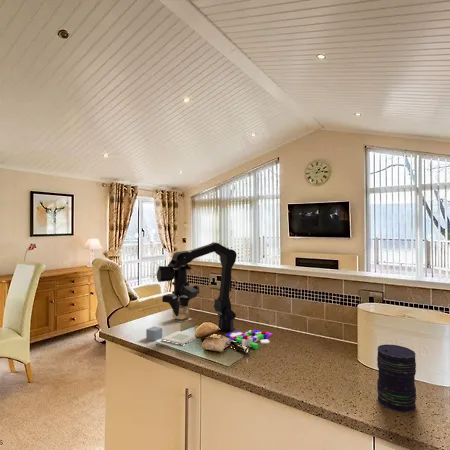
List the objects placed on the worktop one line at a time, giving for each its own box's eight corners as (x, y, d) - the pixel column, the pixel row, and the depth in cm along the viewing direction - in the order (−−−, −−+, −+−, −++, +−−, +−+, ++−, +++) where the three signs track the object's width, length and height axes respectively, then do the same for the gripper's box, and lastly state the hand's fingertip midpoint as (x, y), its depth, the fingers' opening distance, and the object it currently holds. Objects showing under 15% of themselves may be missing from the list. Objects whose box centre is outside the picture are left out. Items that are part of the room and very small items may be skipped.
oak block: (179, 315, 147) (179, 305, 147) (188, 316, 145) (188, 306, 145) (172, 317, 143) (172, 307, 143) (181, 319, 141) (181, 309, 141)
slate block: (162, 337, 146) (162, 328, 146) (154, 341, 142) (154, 331, 142) (154, 336, 148) (154, 326, 148) (146, 339, 144) (146, 329, 144)
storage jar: (405, 394, 96) (405, 344, 96) (423, 413, 87) (423, 358, 87) (371, 393, 97) (371, 344, 97) (385, 411, 87) (385, 357, 87)
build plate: (199, 337, 146) (199, 335, 146) (183, 345, 136) (183, 343, 136) (178, 333, 152) (178, 330, 152) (161, 340, 142) (161, 338, 142)
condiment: (192, 319, 175) (192, 297, 175) (179, 322, 169) (179, 299, 169) (184, 316, 180) (184, 295, 180) (171, 319, 174) (171, 297, 174)
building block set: (246, 329, 159) (246, 320, 159) (281, 339, 145) (281, 329, 145) (209, 342, 141) (210, 332, 141) (245, 355, 127) (245, 344, 127)
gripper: (182, 284, 132) (182, 322, 132) (206, 278, 148) (206, 312, 148) (161, 282, 137) (161, 318, 137) (187, 276, 154) (187, 308, 154)
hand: (180, 314), depth 144 cm, fingers closed on oak block, 5 cm apart
